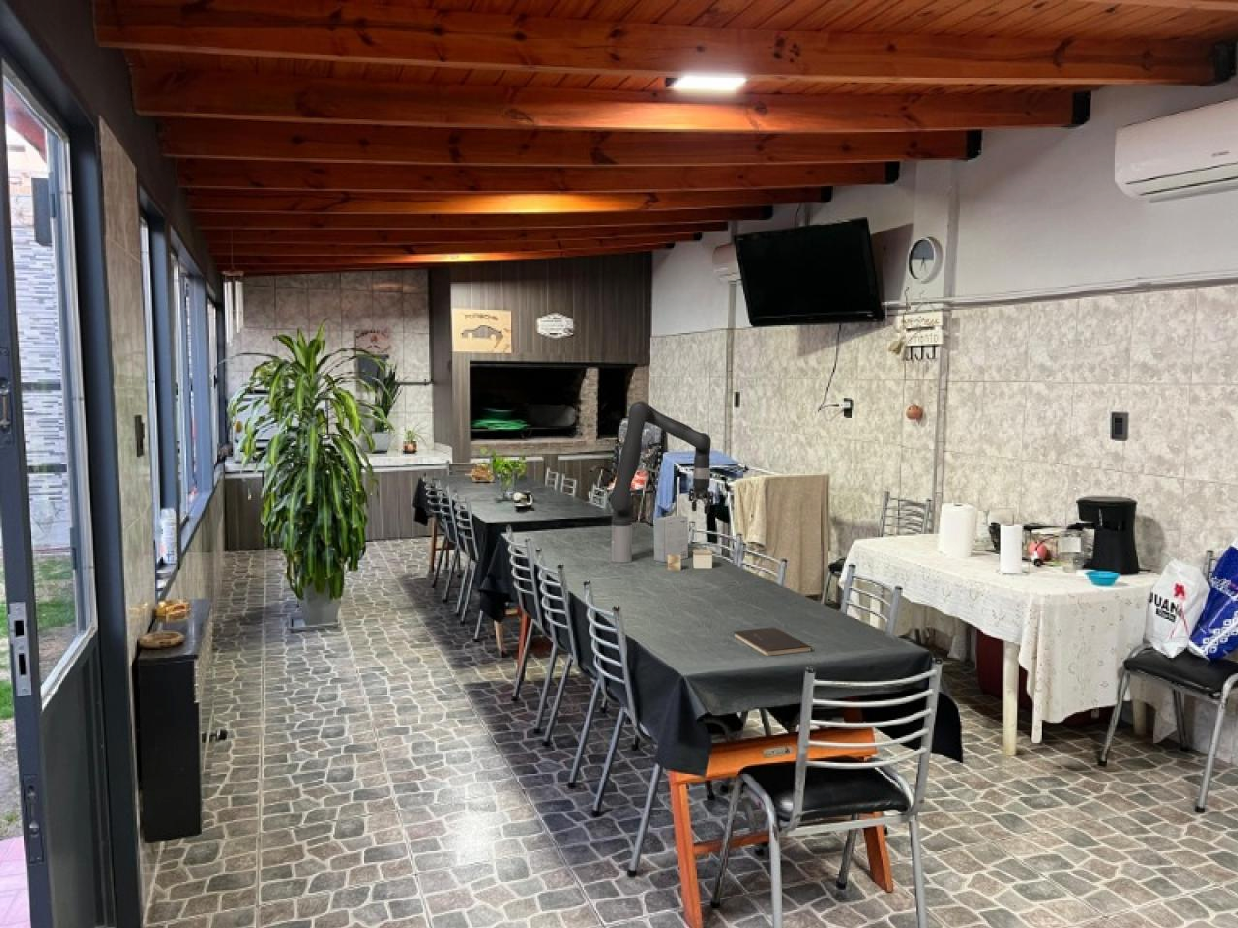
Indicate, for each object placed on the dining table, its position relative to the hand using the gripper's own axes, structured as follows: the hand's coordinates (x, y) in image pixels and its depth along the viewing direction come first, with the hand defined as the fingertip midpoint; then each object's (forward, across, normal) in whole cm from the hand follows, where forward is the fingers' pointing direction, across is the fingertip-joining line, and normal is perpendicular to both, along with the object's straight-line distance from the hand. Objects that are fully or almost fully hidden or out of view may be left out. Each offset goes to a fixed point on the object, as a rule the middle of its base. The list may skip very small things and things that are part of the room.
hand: (700, 512), depth 424 cm
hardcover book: (+24, +110, -65) cm, 130 cm away
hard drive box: (+24, -16, -3) cm, 30 cm away
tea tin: (+24, +5, -2) cm, 25 cm away
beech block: (+24, +2, -16) cm, 29 cm away
